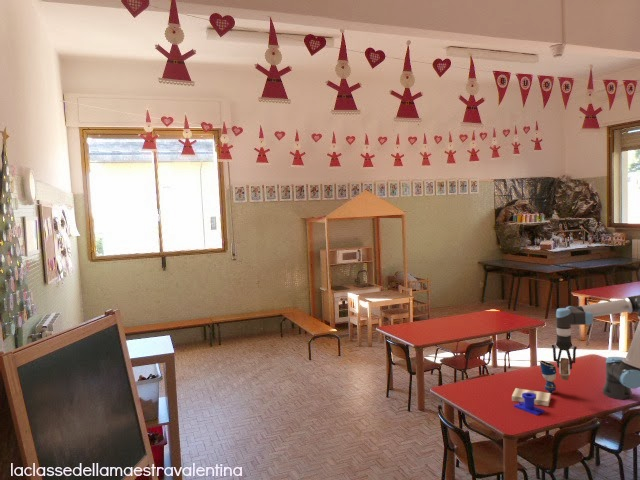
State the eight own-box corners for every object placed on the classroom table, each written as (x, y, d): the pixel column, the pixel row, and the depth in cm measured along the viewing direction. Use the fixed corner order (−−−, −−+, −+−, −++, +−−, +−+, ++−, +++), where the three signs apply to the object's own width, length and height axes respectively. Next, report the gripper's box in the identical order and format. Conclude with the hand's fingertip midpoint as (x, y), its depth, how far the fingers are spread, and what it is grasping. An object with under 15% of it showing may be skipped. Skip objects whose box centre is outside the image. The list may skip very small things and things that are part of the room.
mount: (514, 407, 280) (513, 392, 279) (522, 404, 284) (521, 389, 283) (537, 415, 267) (536, 400, 267) (545, 412, 271) (545, 397, 270)
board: (550, 398, 290) (550, 393, 290) (548, 406, 278) (548, 401, 278) (515, 392, 301) (515, 388, 300) (511, 400, 289) (511, 395, 289)
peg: (569, 378, 282) (568, 358, 282) (568, 380, 279) (568, 360, 278) (561, 377, 285) (560, 357, 284) (560, 379, 281) (560, 359, 280)
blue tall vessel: (559, 396, 291) (559, 364, 290) (543, 396, 293) (542, 364, 292) (553, 389, 304) (553, 358, 303) (537, 388, 306) (537, 358, 305)
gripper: (580, 334, 279) (581, 373, 280) (548, 332, 288) (549, 369, 289) (579, 337, 273) (580, 377, 274) (547, 335, 282) (548, 373, 283)
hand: (564, 373), depth 282 cm, fingers closed on peg, 4 cm apart
